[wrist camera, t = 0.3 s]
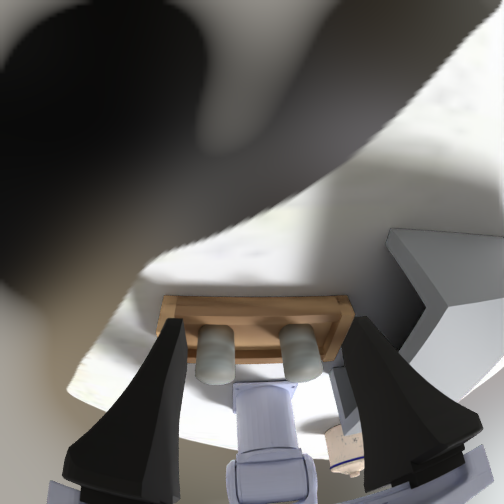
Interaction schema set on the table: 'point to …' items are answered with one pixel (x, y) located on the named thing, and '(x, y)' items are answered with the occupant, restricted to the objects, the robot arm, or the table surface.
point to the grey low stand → (444, 313)
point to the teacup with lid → (345, 451)
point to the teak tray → (260, 333)
